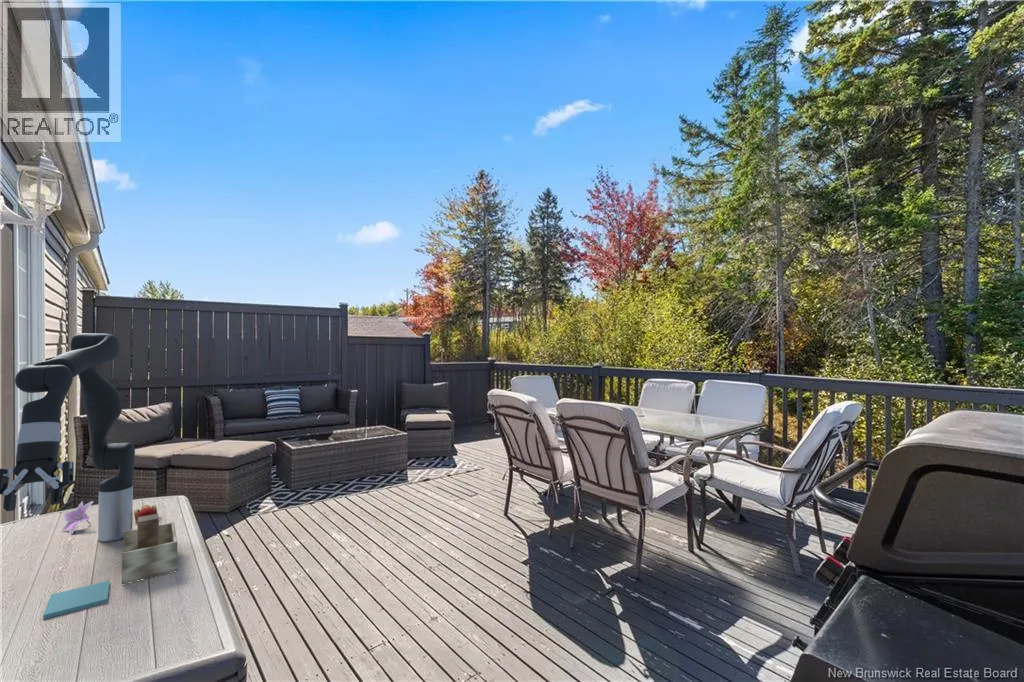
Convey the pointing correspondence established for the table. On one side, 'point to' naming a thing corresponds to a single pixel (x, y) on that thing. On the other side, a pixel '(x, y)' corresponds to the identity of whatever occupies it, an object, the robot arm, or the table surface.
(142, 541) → the walnut block
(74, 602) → the mat
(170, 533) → the crate
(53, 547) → the table surface
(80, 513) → the lily
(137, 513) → the kendama
